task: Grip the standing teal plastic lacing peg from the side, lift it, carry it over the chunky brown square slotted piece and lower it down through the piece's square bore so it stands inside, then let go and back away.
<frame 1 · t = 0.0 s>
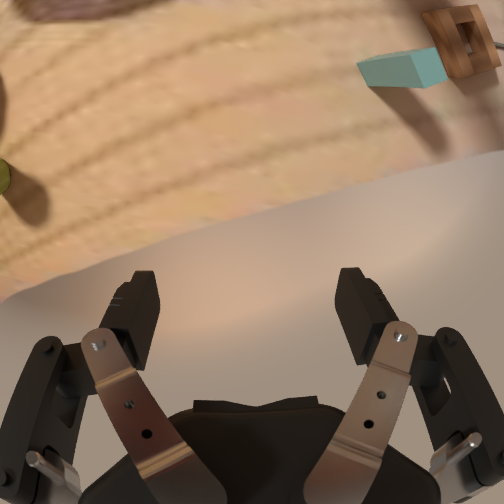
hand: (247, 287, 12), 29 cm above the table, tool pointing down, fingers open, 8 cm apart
dark grey rod: (503, 46, 26), on the table
peg: (372, 70, 32), on the table
plant pot 2: (1, 174, 36), on the table
brown square slotted piece: (457, 39, 28), on the table
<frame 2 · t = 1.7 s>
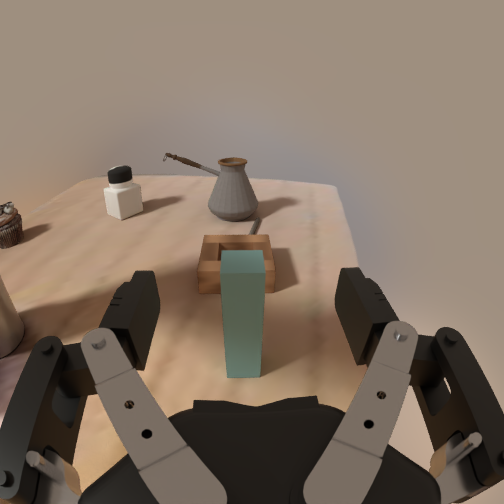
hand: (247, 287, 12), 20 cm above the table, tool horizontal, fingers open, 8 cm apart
dark grey rod: (251, 234, 60), on the table
peg: (243, 365, 32), on the table
brown square slotted piece: (236, 272, 48), on the table
coffee pot: (212, 215, 69), on the table
medicine bottle: (125, 213, 70), on the table
cupcake: (11, 241, 57), on the table
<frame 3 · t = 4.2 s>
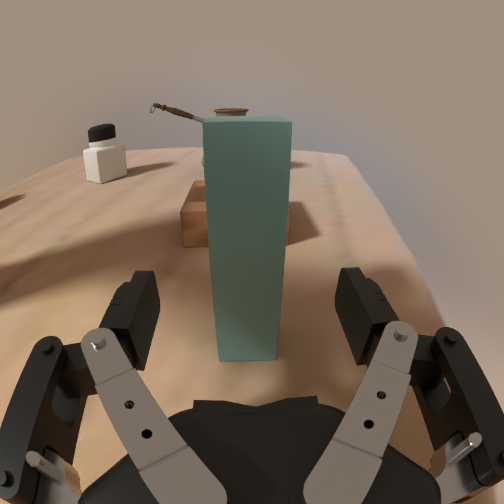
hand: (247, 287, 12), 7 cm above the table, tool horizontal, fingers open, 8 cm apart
peg: (246, 340, 20), on the table
brown square slotted piece: (235, 224, 36), on the table
coffee pot: (206, 175, 57), on the table
medicine bottle: (107, 178, 58), on the table
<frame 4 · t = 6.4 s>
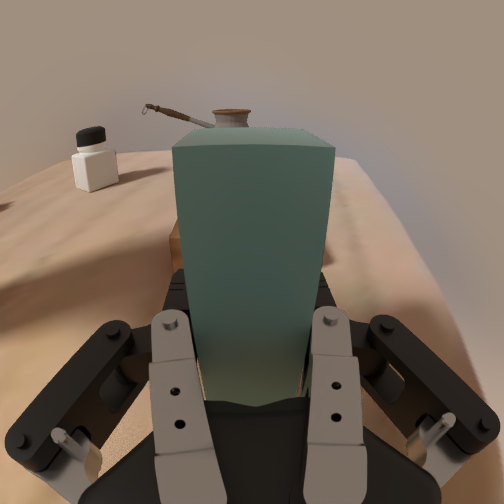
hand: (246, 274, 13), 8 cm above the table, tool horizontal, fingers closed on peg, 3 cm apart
peg: (249, 413, 15), on the table, touching gripper
brown square slotted piece: (236, 247, 31), on the table
coffee pot: (204, 183, 52), on the table
medicine bottle: (97, 186, 53), on the table
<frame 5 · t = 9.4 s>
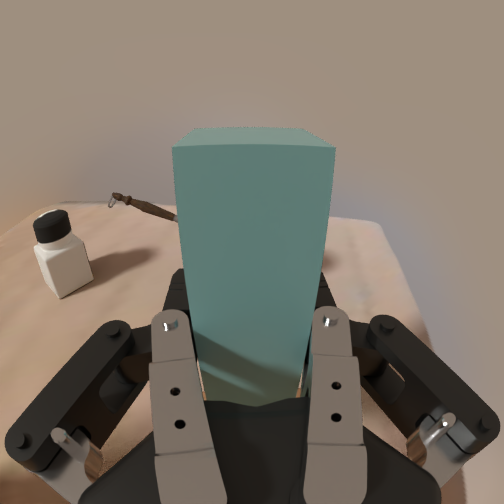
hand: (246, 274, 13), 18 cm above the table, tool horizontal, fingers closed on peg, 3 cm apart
peg: (249, 413, 15), point 10 cm above the table, touching gripper
coffee pot: (199, 295, 41), on the table
medicine bottle: (69, 282, 42), on the table
when the fingers open (9 cm above the table, at t = 12.3 s): peg drops 1 cm, resting in brown square slotted piece.
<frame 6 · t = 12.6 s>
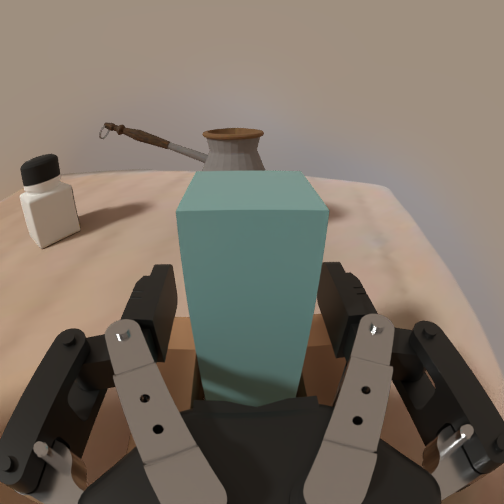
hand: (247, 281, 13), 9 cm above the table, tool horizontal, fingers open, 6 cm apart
peg: (248, 425, 15), resting in brown square slotted piece
brown square slotted piece: (248, 425, 15), on the table
coffee pot: (194, 239, 36), on the table
medicine bottle: (54, 235, 37), on the table
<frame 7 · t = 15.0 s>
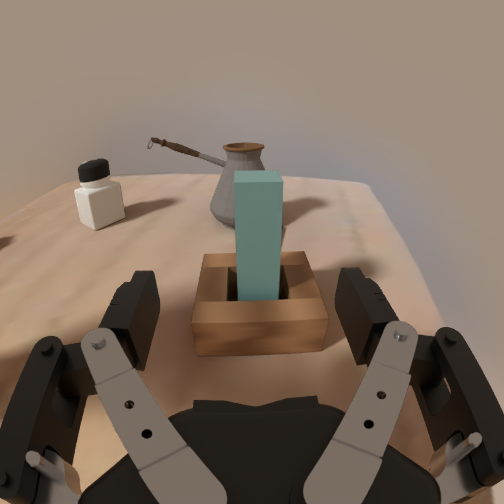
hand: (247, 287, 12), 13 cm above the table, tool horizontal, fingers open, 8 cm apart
peg: (257, 314, 30), resting in brown square slotted piece
brown square slotted piece: (257, 314, 30), on the table
coffee pot: (216, 221, 51), on the table
medicine bottle: (103, 221, 52), on the table
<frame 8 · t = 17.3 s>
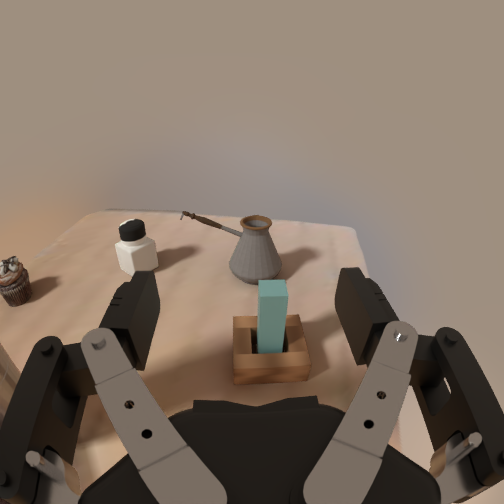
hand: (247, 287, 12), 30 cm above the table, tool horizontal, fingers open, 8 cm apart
peg: (268, 356, 46), resting in brown square slotted piece
brown square slotted piece: (268, 356, 46), on the table
coffee pot: (233, 274, 67), on the table
medicine bottle: (139, 268, 68), on the table
cupcake: (19, 297, 55), on the table
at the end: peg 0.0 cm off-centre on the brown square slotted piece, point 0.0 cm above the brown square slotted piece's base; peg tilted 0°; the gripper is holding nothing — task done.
